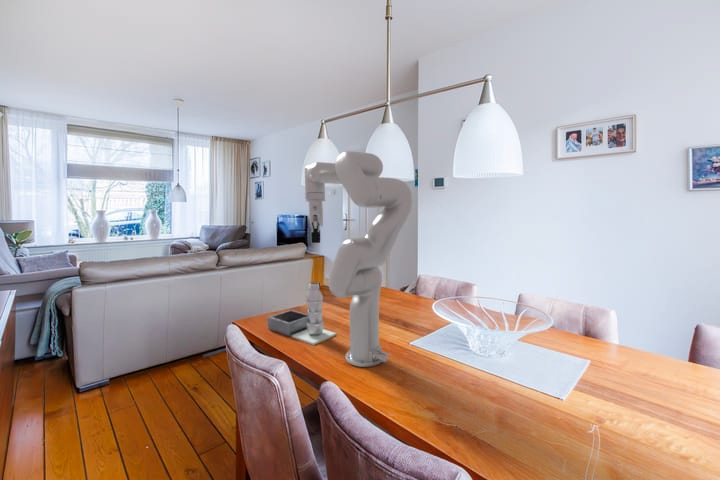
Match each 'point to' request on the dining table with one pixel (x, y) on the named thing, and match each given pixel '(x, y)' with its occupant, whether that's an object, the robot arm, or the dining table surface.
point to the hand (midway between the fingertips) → (316, 241)
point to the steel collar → (288, 322)
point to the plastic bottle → (314, 309)
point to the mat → (313, 336)
